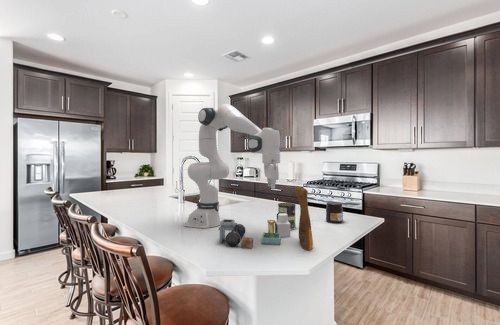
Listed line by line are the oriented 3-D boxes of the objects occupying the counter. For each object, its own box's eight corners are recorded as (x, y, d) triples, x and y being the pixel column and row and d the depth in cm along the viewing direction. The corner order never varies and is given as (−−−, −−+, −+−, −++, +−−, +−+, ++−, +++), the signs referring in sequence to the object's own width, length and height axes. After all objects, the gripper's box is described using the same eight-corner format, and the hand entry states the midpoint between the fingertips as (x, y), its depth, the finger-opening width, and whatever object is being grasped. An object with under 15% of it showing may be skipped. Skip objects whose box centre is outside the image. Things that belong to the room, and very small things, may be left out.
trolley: (217, 246, 119) (216, 225, 119) (225, 236, 134) (225, 217, 133) (239, 247, 118) (239, 226, 117) (245, 237, 132) (245, 218, 132)
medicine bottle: (274, 233, 139) (274, 211, 138) (287, 232, 139) (287, 211, 139) (277, 237, 131) (277, 214, 131) (290, 236, 132) (290, 214, 132)
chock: (241, 248, 117) (241, 239, 116) (242, 245, 120) (242, 237, 120) (251, 249, 116) (251, 240, 115) (253, 246, 120) (253, 237, 119)
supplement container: (343, 224, 155) (343, 205, 154) (325, 223, 158) (325, 204, 158) (342, 220, 165) (342, 202, 164) (326, 219, 168) (326, 201, 168)
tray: (261, 244, 122) (261, 237, 122) (263, 237, 131) (263, 232, 130) (280, 245, 120) (280, 238, 120) (280, 238, 129) (280, 233, 129)
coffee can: (295, 225, 153) (295, 202, 152) (295, 230, 143) (295, 206, 142) (278, 224, 155) (278, 202, 154) (277, 229, 145) (277, 205, 144)
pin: (268, 241, 123) (268, 221, 123) (266, 239, 127) (266, 220, 127) (276, 241, 124) (275, 221, 124) (273, 238, 128) (273, 219, 127)
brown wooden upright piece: (300, 252, 111) (300, 189, 111) (294, 237, 130) (294, 184, 130) (315, 252, 111) (315, 189, 110) (307, 238, 130) (307, 184, 129)
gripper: (281, 160, 114) (282, 190, 114) (273, 159, 134) (273, 185, 135) (268, 160, 113) (268, 190, 114) (262, 159, 134) (262, 185, 134)
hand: (271, 187), depth 124 cm, fingers open, 8 cm apart
